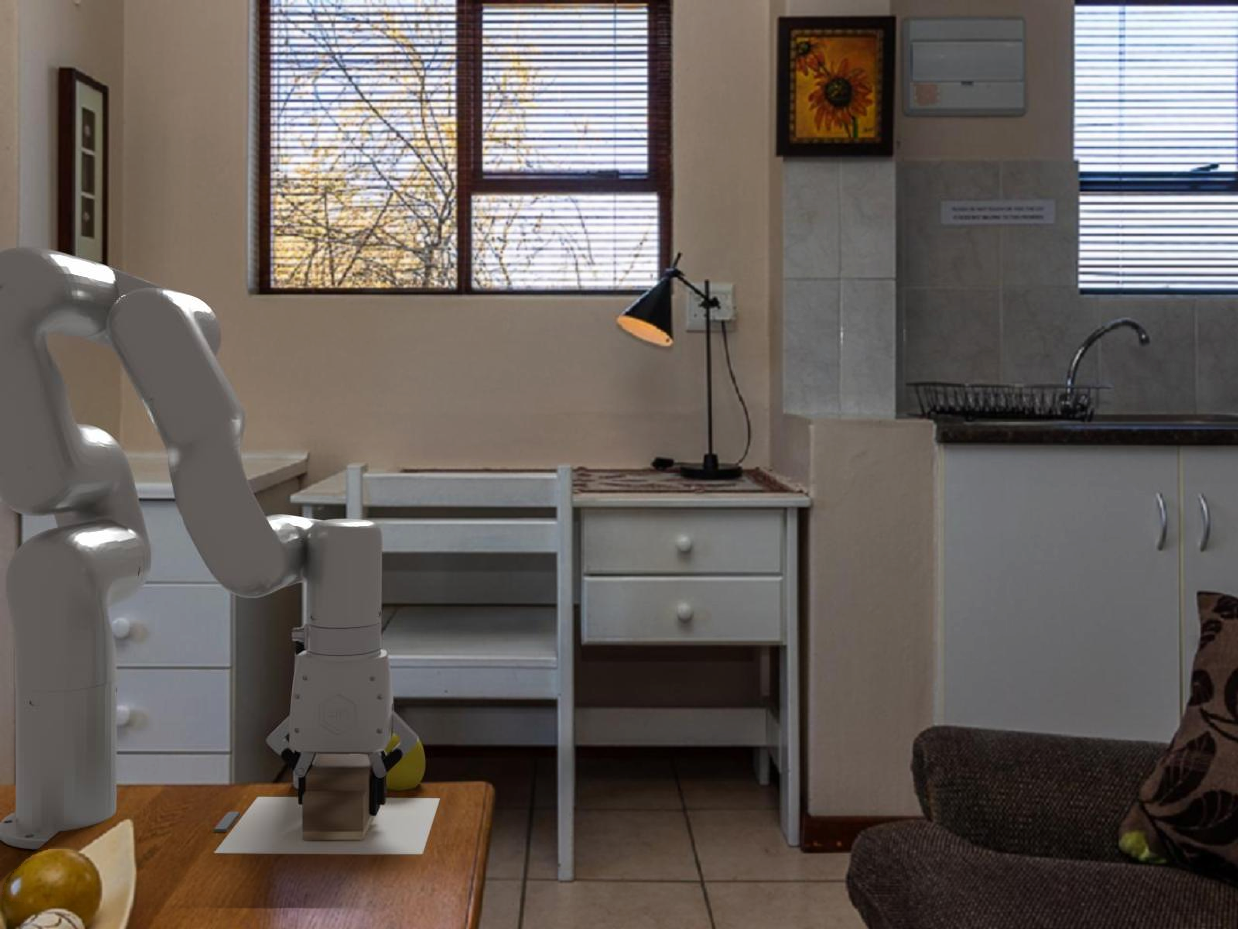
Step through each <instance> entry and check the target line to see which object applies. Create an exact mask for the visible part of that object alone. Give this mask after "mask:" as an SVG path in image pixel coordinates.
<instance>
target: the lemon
mask: <svg viewBox="0 0 1238 929" xmlns="http://www.w3.org/2000/svg"><path fill="white" fill-rule="evenodd" d="M400 742H401V740H400V738H399V737H398V736H397V735H396V734H395V733H394V732H393V736H392V737H391V738H390V742H389V745H388V746H387V747H386V749H385V751H386V754H388V753H389V752H390V751H391V750H392V749H393V748H394V747H396V746H397V745H398V744H399V743H400ZM425 755H426V754H425V750H424V746H423V744H422V742H421V740H420V739H419V740H418V742H417V744H416V745H415V746H414V747H413V748H412V749H411V750H410V751H409V752H408V753H407V754H406V755H405V756H403V757H402V758H401V760H400V761H399V762H398V763H397V764H396V765H395V766H394V767H393V768H392V769H391V770H389V771H388V772H387V773H386V790H389V791H394V792H395V791H396V792H397V791H398V792H400V791H409V790H413V789H416V788H417V787H418V786H419V784H421V781H422V779H423V777H424V774H425V771H426V756H425Z"/></svg>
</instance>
